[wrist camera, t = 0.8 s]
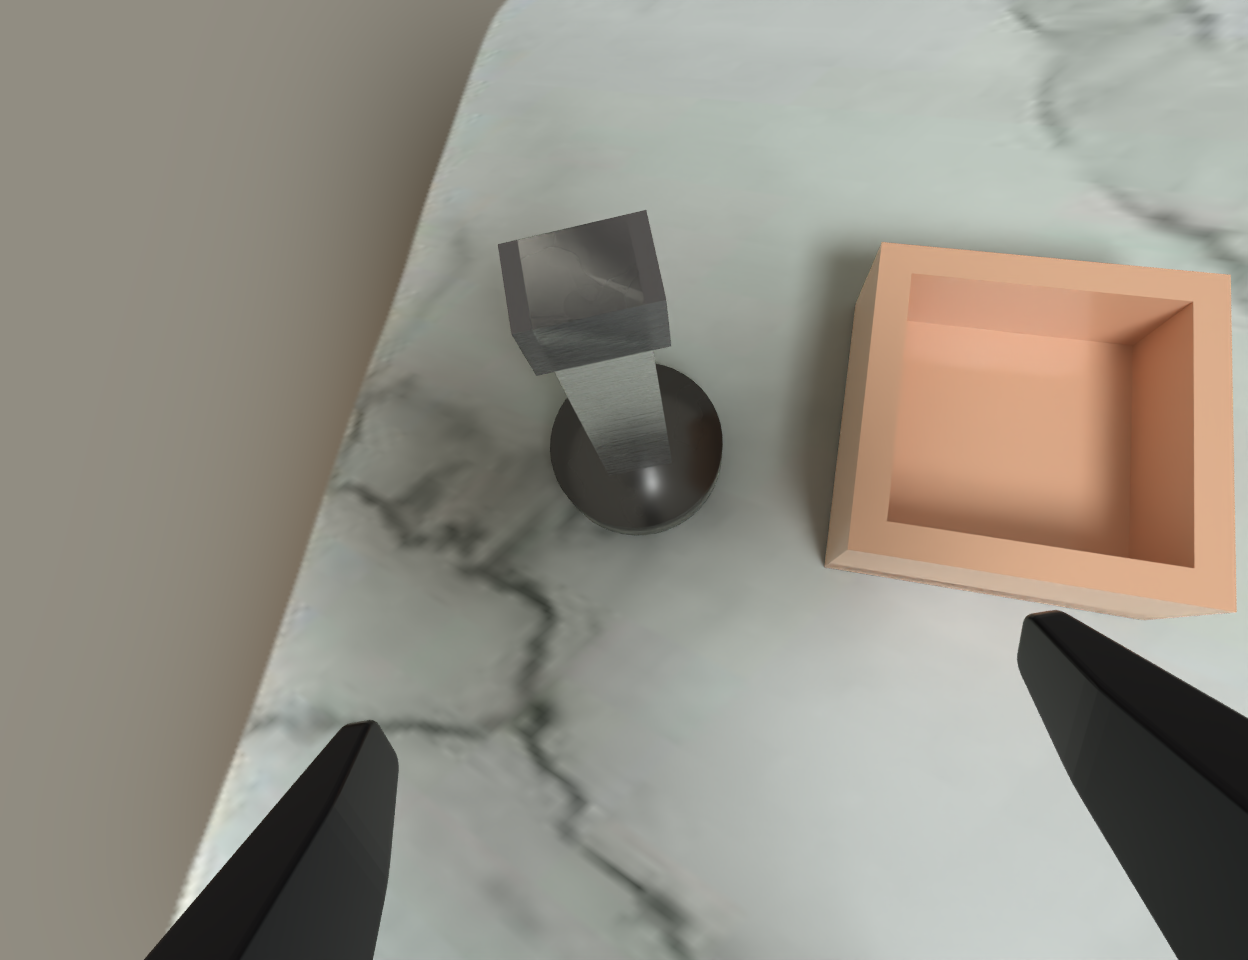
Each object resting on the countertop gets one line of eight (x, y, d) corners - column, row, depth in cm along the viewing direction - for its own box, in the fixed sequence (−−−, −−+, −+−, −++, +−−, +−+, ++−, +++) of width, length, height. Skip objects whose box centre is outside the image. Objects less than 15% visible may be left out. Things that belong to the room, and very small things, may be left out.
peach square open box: (1143, 620, 22) (1236, 612, 18) (824, 567, 24) (847, 549, 20) (1146, 335, 24) (1230, 274, 20) (855, 304, 26) (881, 242, 22)
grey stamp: (737, 516, 24) (770, 379, 12) (572, 550, 25) (447, 448, 13) (702, 363, 26) (700, 109, 14) (547, 397, 26) (415, 177, 14)
